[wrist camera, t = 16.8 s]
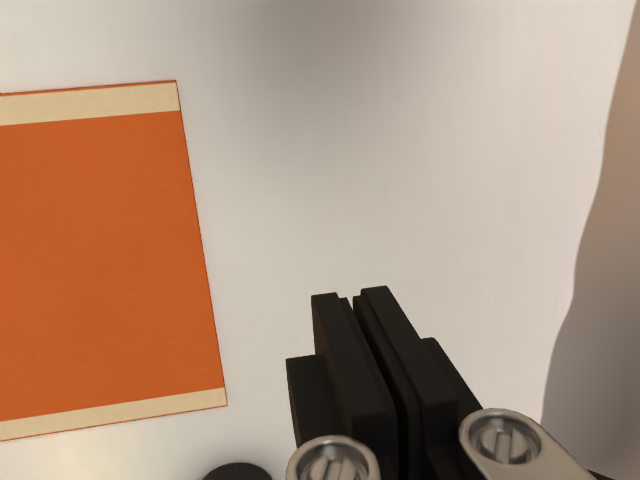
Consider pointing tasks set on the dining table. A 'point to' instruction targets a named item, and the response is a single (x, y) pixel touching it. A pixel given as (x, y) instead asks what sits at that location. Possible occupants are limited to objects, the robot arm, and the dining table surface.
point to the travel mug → (238, 473)
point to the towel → (100, 262)
